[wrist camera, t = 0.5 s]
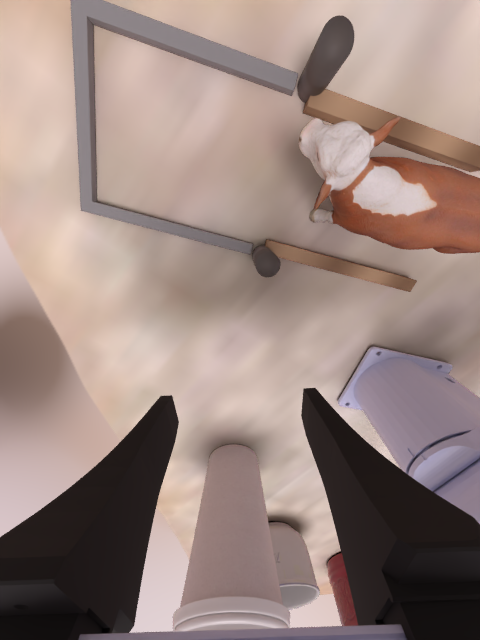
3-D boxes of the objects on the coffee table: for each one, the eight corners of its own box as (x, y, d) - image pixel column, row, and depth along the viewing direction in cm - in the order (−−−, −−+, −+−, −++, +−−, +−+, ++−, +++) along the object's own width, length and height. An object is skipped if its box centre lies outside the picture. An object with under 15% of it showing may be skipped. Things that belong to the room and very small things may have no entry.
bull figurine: (285, 139, 15) (333, 66, 8) (449, 202, 17) (615, 193, 9) (264, 208, 17) (286, 203, 9) (414, 258, 19) (531, 287, 11)
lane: (295, 79, 14) (298, 73, 13) (249, 253, 18) (250, 254, 18) (77, -2, 12) (70, -13, 12) (86, 210, 17) (80, 210, 16)
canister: (372, 539, 40) (461, 749, 25) (401, 560, 45) (492, 751, 29) (312, 560, 44) (356, 756, 28) (344, 578, 48) (398, 757, 32)
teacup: (267, 507, 35) (276, 582, 28) (318, 525, 38) (337, 598, 31) (221, 542, 40) (218, 614, 33) (269, 555, 43) (276, 624, 36)
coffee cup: (239, 425, 27) (242, 638, 13) (282, 462, 30) (320, 663, 17) (182, 457, 29) (137, 664, 16) (228, 488, 33) (223, 682, 19)
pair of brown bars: (491, 136, 15) (572, 111, 11) (395, 299, 20) (430, 318, 16) (302, 64, 13) (328, 9, 10) (250, 262, 18) (253, 274, 15)
